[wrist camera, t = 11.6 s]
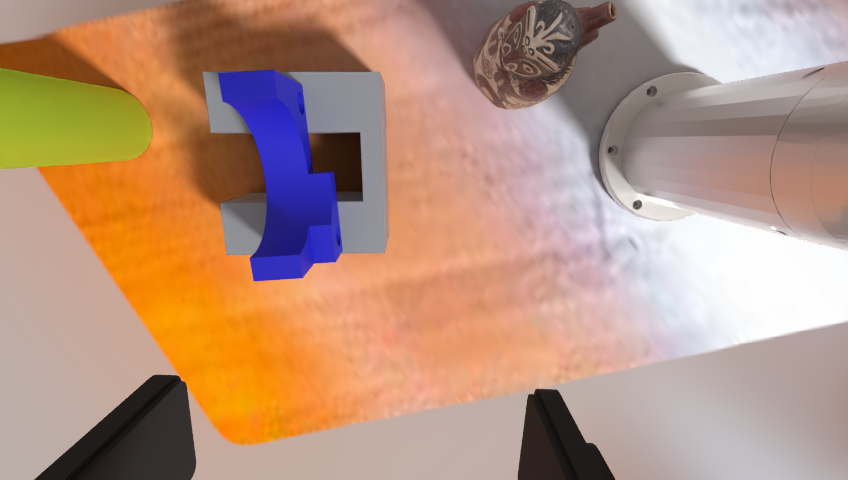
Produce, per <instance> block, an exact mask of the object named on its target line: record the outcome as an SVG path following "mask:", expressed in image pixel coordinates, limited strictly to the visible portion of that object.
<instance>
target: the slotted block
mask: <svg viewBox="0 0 848 480" xmlns="http://www.w3.org/2000/svg"><path fill="white" fill-rule="evenodd" d="M218 73H225V72H203V78H204V86H205V93H206V101H207V108H208V116H209V123H210V131H211V133H230V134H252V133H251V131H250V129H249V127H248V125H247V124H246V122H245V120H244V119H243V117H242V116H241V115H240V114H239V112H238V111H237V110H236V109H235V108H233V107H232V106H231V105H229V104H227V103H224V102H223V101H222V95H221V89H220V83H219V77H218ZM278 73H280V74H282V75H284V76H286V77H288V78H290V79H292V80H294V81H296V82H298V83H299V84H301V85H302V87H303V95H304V103H305V111H306V119H307V127H308V134H360V137H361V161H362V184H363V192H336V195H337V204H338V213H339V222H340V231H341V240H342V248H343V251H342V252H341V254H345V253H385V251H386V246H387V241H388V237H389V221H388V185H387V149H386V112H385V84H384V81H383V79H382V77H381V74H380V72H278ZM220 207H221V214H222V222H223V230H224V237H225V245H226V252H227V255H253V254H254V253H255V252H256V250H257V249H258V247H259V245H260V242H261V240H262V236H263V233H264V228H265V222H266V210H267V198H266V193H249V194H246V195H243V196H240V197H237V198H234V199H231V200H228V201H225V202H222V203H220Z"/></svg>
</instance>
